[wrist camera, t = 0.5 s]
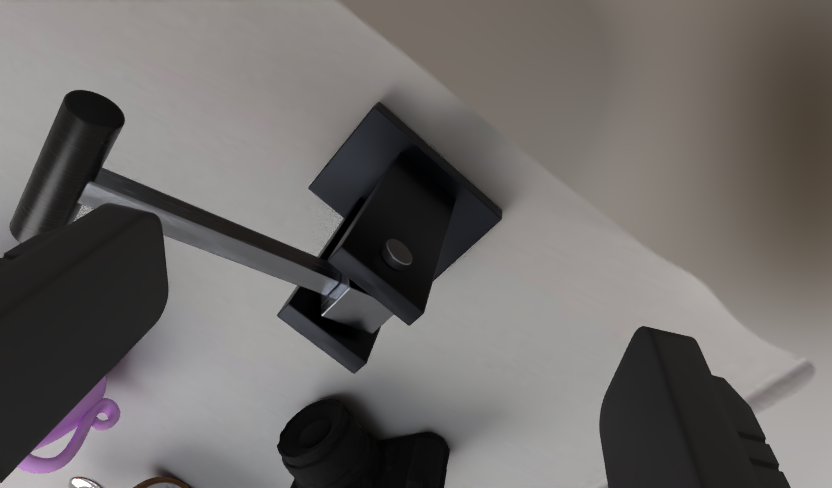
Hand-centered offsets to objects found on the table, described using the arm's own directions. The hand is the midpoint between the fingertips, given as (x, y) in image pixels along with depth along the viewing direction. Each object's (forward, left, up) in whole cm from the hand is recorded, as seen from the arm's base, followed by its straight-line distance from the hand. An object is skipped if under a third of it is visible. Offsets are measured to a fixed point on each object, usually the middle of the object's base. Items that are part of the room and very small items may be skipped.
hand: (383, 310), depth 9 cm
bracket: (+9, +2, -23) cm, 25 cm away
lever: (+9, -4, -11) cm, 15 cm away
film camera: (+29, +13, -23) cm, 40 cm away
